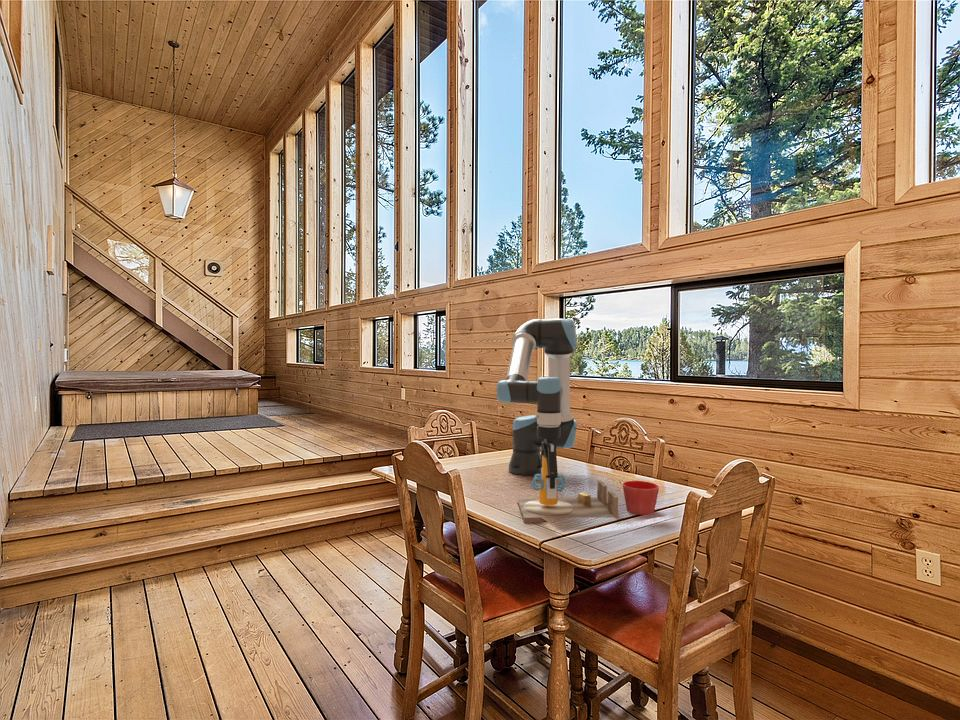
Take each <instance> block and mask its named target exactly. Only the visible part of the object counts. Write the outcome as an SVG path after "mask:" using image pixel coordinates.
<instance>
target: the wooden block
mask: <svg viewBox="0 0 960 720" xmlns="http://www.w3.org/2000/svg"><path fill="white" fill-rule="evenodd" d="M577 498H578V502H579V503H581V504H583V505H590V504H591V498H592V495H591V494H589V493H587V492H584V491H581V492H577Z"/></svg>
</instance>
